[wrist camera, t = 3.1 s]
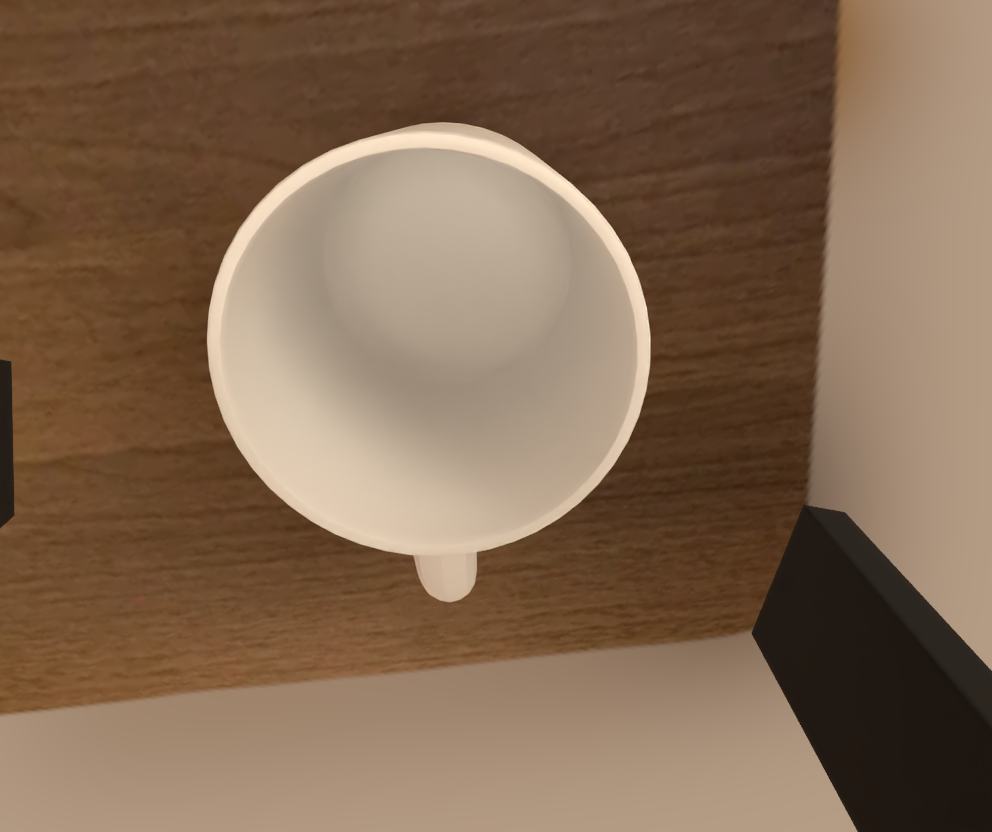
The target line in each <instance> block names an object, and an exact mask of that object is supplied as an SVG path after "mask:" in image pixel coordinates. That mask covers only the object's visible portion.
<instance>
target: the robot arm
mask: <svg viewBox="0 0 992 832" xmlns="http://www.w3.org/2000/svg"><path fill="white" fill-rule="evenodd" d="M13 516H14V473H13V424H12V374H11V361H5V360H0V528H1V527H2V526H3V525H4V524H5V523H6V522H8V521H9V520H10V519H11V518H12V517H13ZM752 635H753V637H754V639H755V641H756V642H757V645H758V646H759V648H760V650H761V652H762V654H763V656H764V658H765V659H766V661H767V663H768V665H769V667H770V669H771V671H772V672H773V674H774V676H775V678H776V680H777V682H778V684H779V686H780V687H781V689H782V691H783V693H784V695H785V697H786V699H787V700H788V702H789V704H790V706H791V708H792V710H793V712H794V714H795V715H796V717H797V719H798V721H799V723H800V725H801V727H802V728H803V730H804V732H805V734H806V736H807V738H808V740H809V741H810V743H811V745H812V747H813V749H814V751H815V753H816V755H817V756H818V758H819V760H820V762H821V764H822V766H823V768H824V770H825V771H826V773H827V775H828V777H829V779H830V781H831V782H832V784H833V786H834V788H835V790H836V792H837V794H838V796H839V797H840V799H841V801H842V803H843V805H844V807H845V809H846V811H847V812H848V814H849V816H850V818H851V820H852V821H853V824H854V826H855V827H856V829H857V831H858V832H992V671H991V670H990V669H989V668H988V666H986V664H985V663H984V662H983V661H982V660H981V659H980V658H979V657H978V656H977V655H976V654H975V653H974V651H973V650H972V649H971V648H970V647H969V646H968V645H967V644H966V643H965V642H964V641H963V640H962V638H961V637H960V636H959V635H958V634H957V633H956V632H955V631H954V630H953V629H952V628H951V627H950V625H949V624H948V623H947V622H946V621H945V620H944V619H943V618H942V617H941V616H940V615H939V614H938V612H937V611H936V610H935V609H934V608H933V607H932V606H931V605H930V604H929V603H928V602H927V601H926V600H925V599H924V597H923V596H922V595H921V594H920V593H919V592H918V591H917V590H916V589H915V588H914V587H913V585H912V584H911V583H909V581H908V580H907V579H906V578H905V577H904V576H903V575H902V574H901V572H900V571H899V570H898V569H897V568H896V567H895V566H894V565H893V564H892V563H891V562H890V561H889V559H887V557H886V556H885V555H884V554H883V553H882V552H881V551H880V550H879V549H878V548H877V547H876V545H875V544H874V543H872V541H871V540H870V539H869V538H868V537H867V536H866V535H865V534H864V532H863V531H862V530H861V529H860V528H859V527H858V526H857V525H856V524H855V523H854V522H853V521H852V519H851V518H850V517H849V516H848V515H847V514H846V513H845V512H840V511H835V510H829V509H823V508H818V507H812V506H807V505H804V506H803V508H802V511H801V513H800V516H799V518H798V521H797V523H796V525H795V528H794V530H793V533H792V535H791V538H790V540H789V543H788V545H787V548H786V550H785V552H784V555H783V557H782V560H781V562H780V565H779V567H778V570H777V572H776V575H775V577H774V579H773V582H772V584H771V587H770V589H769V592H768V594H767V597H766V599H765V602H764V604H763V606H762V609H761V611H760V614H759V616H758V619H757V621H756V624H755V626H754V629H753V631H752Z"/></svg>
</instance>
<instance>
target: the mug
mask: <svg viewBox="0 0 992 832" xmlns="http://www.w3.org/2000/svg"><path fill="white" fill-rule="evenodd" d="M207 348H208V361H209V370H210V374H211V379H212V384H213V388H214V393H215V397H216V400H217V402H218V405H219V408H220V411H221V413H222V416H223V419H224V422H225V424H226V426H227V428H228V430H229V432H230V433H231V435H232V437H233V439H234V441H235V443H236V445H237V447H238V448H239V450H240V451H241V453H242V454H243V456H244V457H245V459H246V460H247V462H248V463H249V464H250V466H251V467H252V469H253V470H254V471H255V472H256V473H257V474H258V475H259V477H260V478H261V479H262V480H263V481H264V482H265V483H266V485H267V486H268V487H269V488H270V489H271V490H272V491H273V492H275V493H276V494H277V495H278V496H279V497H280V498H281V499H282V500H284V501H285V502H286V503H287V504H288V505H289V506H290V507H292V508H293V509H295V510H296V511H297V512H299V513H300V514H302V515H303V516H305V517H306V518H307V519H309V520H310V521H312V522H314V523H315V524H317V525H319V526H321V527H323V528H325V529H327V530H328V531H330V532H332V533H334V534H336V535H338V536H341V537H343V538H346V539H349V540H351V541H354V542H356V543H359V544H362V545H365V546H369V547H373V548H376V549H380V550H384V551H389V552H395V553H402V554H408V555H414V559H415V564H416V569H417V572H418V576H419V579H420V581H421V583H422V585H423V586H424V588H425V589H426V591H427V592H428V594H430V595H432V596H433V597H435V598H436V599H438V600H440V601H446V602H453V601H457V600H460V599H462V598H463V597H465V596H466V595H467V594H469V593H470V591H471V589H472V587H473V586H474V584H475V579H476V572H477V552H478V551H483V550H489V549H492V548H495V547H498V546H502V545H505V544H508V543H511V542H514V541H516V540H519V539H521V538H523V537H526V536H528V535H530V534H532V533H535V532H537V531H539V530H540V529H542V528H544V527H545V526H547V525H549V524H550V523H552V522H554V521H556V520H557V519H559V518H560V517H562V516H563V515H564V514H565V513H567V512H568V511H569V510H571V509H572V508H573V507H575V506H576V505H577V504H579V503H580V502H581V501H582V500H583V499H584V498H585V497H586V496H587V495H588V494H589V493H590V492H591V491H592V490H593V489H594V488H595V487H596V486H597V485H598V484H599V483H600V481H601V480H602V479H603V478H604V476H605V475H606V474H607V473H608V471H609V470H610V469H611V468H612V466H613V465H614V464H615V462H616V460H617V459H618V457H619V455H620V454H621V452H622V450H623V449H624V447H625V445H626V444H627V442H628V440H629V438H630V435H631V433H632V431H633V429H634V426H635V424H636V422H637V419H638V417H639V414H640V410H641V407H642V404H643V400H644V397H645V393H646V389H647V382H648V375H649V369H650V329H649V321H648V314H647V307H646V303H645V300H644V296H643V292H642V289H641V285H640V281H639V279H638V276H637V274H636V272H635V269H634V267H633V264H632V262H631V260H630V257H629V255H628V253H627V251H626V250H625V248H624V246H623V245H622V243H621V241H620V240H619V238H618V236H617V235H616V233H615V231H614V230H613V228H612V227H611V226H610V224H609V223H608V222H607V221H606V219H605V218H604V217H603V216H602V214H601V213H600V212H599V211H598V210H597V208H596V207H595V206H594V205H593V204H592V203H591V202H590V201H589V200H588V199H587V198H586V197H585V196H584V195H583V194H582V193H581V192H580V191H579V190H578V189H576V188H575V187H574V186H573V185H572V184H571V183H570V182H569V181H567V180H566V179H565V178H564V177H562V176H561V175H560V174H558V173H557V172H556V171H555V170H553V169H552V168H551V167H550V166H548V165H547V164H546V163H544V162H543V161H542V160H541V159H539V158H538V157H537V156H536V155H534V154H533V153H531V152H530V151H529V150H527V149H526V148H524V147H523V146H522V145H520V144H519V143H517V142H515V141H513V140H511V139H509V138H507V137H505V136H503V135H501V134H498V133H496V132H493V131H490V130H487V129H485V128H481V127H476V126H472V125H467V124H461V123H447V122H439V123H425V124H419V125H414V126H410V127H405V128H401V129H397V130H394V131H390V132H386V133H383V134H379V135H375V136H372V137H368V138H364V139H361V140H358V141H355V142H352V143H350V144H347V145H344V146H341V147H339V148H336V149H333V150H330V151H329V152H327V153H325V154H323V155H321V156H319V157H317V158H316V159H314V160H312V161H310V162H308V163H306V164H304V165H303V166H301V167H300V168H298V169H297V170H296V171H294V172H293V173H292V174H290V175H289V176H288V177H286V178H285V179H284V180H282V181H281V182H280V183H278V184H277V185H276V186H275V187H274V188H273V189H272V190H271V191H270V192H269V193H268V194H267V195H266V196H265V197H264V198H263V199H262V200H261V201H260V202H259V203H258V204H257V205H256V207H255V208H254V209H253V211H252V212H251V213H250V215H249V216H248V217H247V219H246V220H245V221H244V223H243V224H242V225H241V227H240V228H239V229H238V231H237V233H236V235H235V237H234V239H233V240H232V242H231V244H230V246H229V248H228V250H227V252H226V253H225V255H224V258H223V261H222V263H221V266H220V269H219V272H218V275H217V277H216V280H215V283H214V288H213V292H212V297H211V302H210V307H209V314H208V329H207Z"/></svg>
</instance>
